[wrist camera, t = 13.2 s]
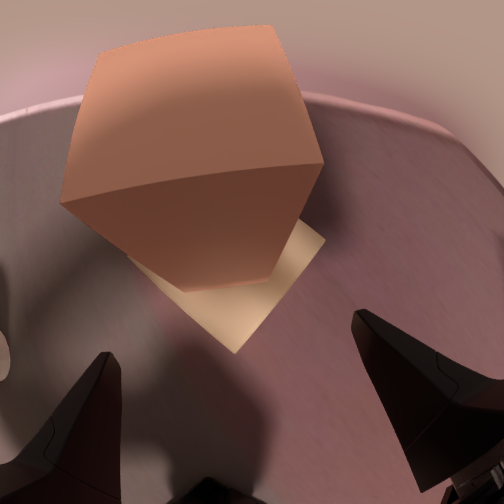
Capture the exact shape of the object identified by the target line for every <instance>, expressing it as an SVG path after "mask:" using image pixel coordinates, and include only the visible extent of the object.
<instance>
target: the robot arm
mask: <svg viewBox="0 0 504 504" xmlns="http://www.w3.org/2000/svg"><path fill="white" fill-rule="evenodd" d="M351 331H352V334H353V337H354V340H355V342H356V345H357V348H358V351H359V353H360V356H361V359H362V362H363V364H364V367H365V369H366V371H367V373H368V375H369V377H370V379H371V381H372V383H373V385H374V387H375V390H376V392H377V394H378V396H379V398H380V400H381V402H382V404H383V406H384V409H385V411H386V413H387V415H388V417H389V419H390V422H391V424H392V426H393V428H394V430H395V433H396V435H397V437H398V439H399V442H400V444H401V446H402V449H403V451H404V454H405V456H406V458H407V461H408V463H409V465H410V468H411V470H412V473H413V475H414V477H415V480H416V482H417V485H418V487H419V490H420V492H421V493H423V492H425V491H427V490H429V489H430V488H432V487H434V486H436V485H438V484H439V483H441V482H443V481H445V480H446V479H448V478H450V479H451V481H452V483H453V484H452V485H450V486H449V487H447V488H446V491H445V494H444V496H443V499H442V501H441V504H504V379H503V380H497V379H492V378H488V377H486V376H484V375H482V374H480V373H477V372H475V371H473V370H471V369H469V368H467V367H465V366H463V365H461V364H459V363H457V362H455V361H453V360H451V359H449V358H447V357H446V356H444V355H442V354H441V353H439V352H437V351H435V350H434V349H432V348H430V347H429V346H427V345H425V344H424V343H422V342H420V341H419V340H417V339H415V338H414V337H412V336H410V335H409V334H407V333H405V332H404V331H402V330H400V329H399V328H397V327H395V326H393V325H392V324H390V323H388V322H387V321H385V320H383V319H382V318H380V317H378V316H377V315H375V314H373V313H371V312H370V311H368V310H366V309H360V310H356V311H355V312H354V314H353V319H352V324H351ZM121 415H122V392H121V368H120V365H119V363H118V362H117V360H116V359H115V357H114V355H113V354H112V353H111V352H101V353H100V354H99V355H98V356H97V357H96V359H95V360H94V361H93V362H92V363H91V365H90V366H89V367H88V368H87V370H86V371H85V372H84V373H83V375H82V376H81V377H80V378H79V380H78V381H77V382H76V383H75V385H74V386H73V387H72V389H71V390H70V391H69V392H68V394H67V395H66V396H65V398H64V399H63V400H62V401H61V403H60V404H59V405H58V407H57V408H56V409H55V411H54V412H53V413H52V416H50V417H49V419H48V420H47V421H46V423H45V424H44V425H43V426H42V428H41V429H40V430H39V432H38V433H37V434H36V435H35V436H34V437H33V439H32V440H31V441H30V442H29V443H28V444H27V445H26V446H25V448H24V449H23V450H22V451H21V452H20V453H19V454H18V456H17V457H16V458H14V459H13V460H12V461H10V462H8V463H5V464H0V504H121V486H120V437H121ZM205 482H210V483H211V484H206V483H205ZM174 504H257V503H256V502H255V501H254V500H252V499H250V498H248V497H247V496H245V495H243V494H241V493H239V492H237V491H235V490H234V489H232V488H227V487H225V486H223V485H222V484H220V483H218V482H217V481H215V480H213V479H212V478H210V477H205V478H203V479H202V480H201V481H200V482H199V483H197V484H196V485H195V486H194V487H193V488H192V489H191V490H189V491H188V492H187V493H186V494H185V495H184V496H182V497H181V498H180V499H179V500H178V501H176V502H175V503H174Z"/></svg>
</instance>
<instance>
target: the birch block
mask: <svg viewBox="0 0 504 504" xmlns="http://www.w3.org/2000/svg"><path fill="white" fill-rule="evenodd" d="M325 241H326V240H325V239H324V238H323V237H322V236H320V235H319V234H318V233H317V232H315V231H314V230H313V229H312V228H310V227H309V226H308V225H307V224H305V223H304V222H303V221H302V220H300V219H299V218H298V220H297V222H296V225H295V227H294V229H293V231H292V233H291V235H290V237H289V239H288V241H287V243H286V245H285V247H284V249H283V251H282V254H281V256H280V258H279V260H278V262H277V264H276V266H275V268H274V270H273V272H272V274H271V276H270V278H269V280H268V282H263V283H256V284H249V285H241V286H234V287H226V288H219V289H211V290H203V291H195V292H186V293H184V292H182V291H181V290H179V289H178V288H176V287H175V286H173V285H172V284H170V283H169V282H167V281H166V280H164V279H163V278H161V277H160V276H158V275H157V274H155V273H154V272H152V271H151V270H149V269H148V268H146V267H145V266H143V265H142V264H140V263H139V262H138V261H136V260H135V259H133V258H132V257H130V256H129V255H127V257H128V258H129V259H130V260H131V261H132V262H133V263H134V264H135V265H136V266H137V267H138V268H139V269H140V270H141V271H142V272H143V273H144V274H145V275H146V276H147V277H148V278H149V279H150V280H151V281H152V282H153V283H155V284H156V285H157V286H158V287H159V288H160V289H161V290H162V291H163V292H164V293H165V294H166V295H167V296H168V297H169V298H171V299H172V300H173V301H174V302H175V303H176V304H177V305H178V306H179V307H180V308H182V309H183V310H184V311H185V312H186V313H187V314H188V315H189V316H190V317H192V318H193V319H194V320H195V321H196V322H197V323H198V324H200V325H201V326H202V327H203V328H204V329H205V330H207V331H208V332H209V333H210V334H211V335H212V336H214V337H215V338H216V339H217V340H218V341H220V342H221V343H222V344H223V345H224V346H226V347H227V348H228V349H229V350H231V351H232V352H233V353H234V354H236V352H237V351H238V350H239V349H240V348H241V346H242V345H243V344H244V343H245V342H246V341H247V339H248V338H249V337H250V336H251V335H252V333H253V332H254V331H255V330H256V329H257V327H258V326H259V325H260V324H261V323H262V321H263V320H264V319H265V318H266V317H267V315H268V314H269V313H270V312H271V310H272V309H273V308H274V307H275V305H276V304H277V303H278V302H279V300H280V299H281V298H282V297H283V296H284V294H285V293H286V292H287V290H288V289H289V288H290V287H291V285H292V284H293V283H294V282H295V280H296V279H297V278H298V276H299V275H300V274H301V273H302V271H303V270H304V269H305V267H306V266H307V265H308V264H309V262H310V261H311V260H312V258H313V257H314V256H315V254H316V253H317V252H318V250H319V249H320V248H321V246H322V245H323V244H324V242H325Z"/></svg>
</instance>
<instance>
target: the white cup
mask: <svg viewBox="0 0 504 504" xmlns="http://www.w3.org/2000/svg"><path fill="white" fill-rule="evenodd" d="M10 360H11V359H10V352H9V347H8V344H7V341H6V338H5V337H4V335H3V334H2V332H1V331H0V381H2V380H3V379H5V378H6V377H7V375H8V373H9V370H10Z"/></svg>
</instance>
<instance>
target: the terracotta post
mask: <svg viewBox="0 0 504 504" xmlns="http://www.w3.org/2000/svg"><path fill="white" fill-rule="evenodd" d="M323 165H324V161H323V157H322V154H321V151H320V148H319V145H318V142H317V139H316V136H315V133H314V130H313V127H312V124H311V121H310V118H309V115H308V112H307V109H306V107H305V104H304V101H303V98H302V96H301V93H300V90H299V88H298V85H297V83H296V80H295V78H294V75H293V72H292V70H291V68H290V65H289V63H288V60H287V58H286V55H285V54H284V51H283V48H282V46H281V44H280V42H279V39H278V37H277V35H276V33H275V31H274V28H273V26H272V25H260V26H237V27H225V28H214V29H206V30H198V31H191V32H185V33H179V34H173V35H168V36H163V37H158V38H154V39H149V40H145V41H141V42H137V43H133V44H129V45H126V46H122V47H119V48H115V49H112V50H109V51H106V52H103V53H100V54H99V56H98V58H97V61H96V64H95V66H94V69H93V71H92V74H91V77H90V79H89V82H88V85H87V88H86V91H85V94H84V97H83V100H82V103H81V107H80V110H79V113H78V117H77V120H76V124H75V128H74V132H73V136H72V140H71V144H70V148H69V153H68V158H67V163H66V168H65V173H64V179H63V185H62V192H61V199H60V204H61V205H62V206H63V207H65V208H66V209H67V210H68V211H70V212H71V213H72V214H74V215H75V216H76V217H77V218H79V219H80V220H81V221H83V222H84V223H85V224H86V225H88V226H89V227H90V228H92V229H93V230H94V231H96V232H97V233H98V234H100V235H101V236H103V237H104V238H105V239H107V240H108V241H109V242H111V243H112V244H113V245H115V246H116V247H118V248H119V249H120V250H122V251H123V252H125V253H126V254H128V255H129V256H130V257H132V258H133V259H135V260H136V261H138V262H139V263H140V264H142V265H143V266H145V267H146V268H148V269H149V270H151V271H152V272H154V273H155V274H157V275H158V276H160V277H161V278H163V279H164V280H166V281H167V282H169V283H170V284H172V285H173V286H175V287H176V288H178V289H179V290H181V291H182V292H184V293H186V292H195V291H203V290H211V289H219V288H226V287H234V286H241V285H249V284H256V283H263V282H268V280H269V278H270V276H271V274H272V272H273V270H274V268H275V266H276V264H277V262H278V260H279V258H280V256H281V254H282V251H283V249H284V247H285V245H286V243H287V241H288V239H289V237H290V235H291V233H292V231H293V229H294V227H295V225H296V222H297V220H298V218H299V216H300V214H301V212H302V210H303V208H304V206H305V204H306V201H307V199H308V197H309V195H310V193H311V191H312V189H313V186H314V184H315V182H316V180H317V178H318V176H319V173H320V171H321V169H322V167H323Z"/></svg>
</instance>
